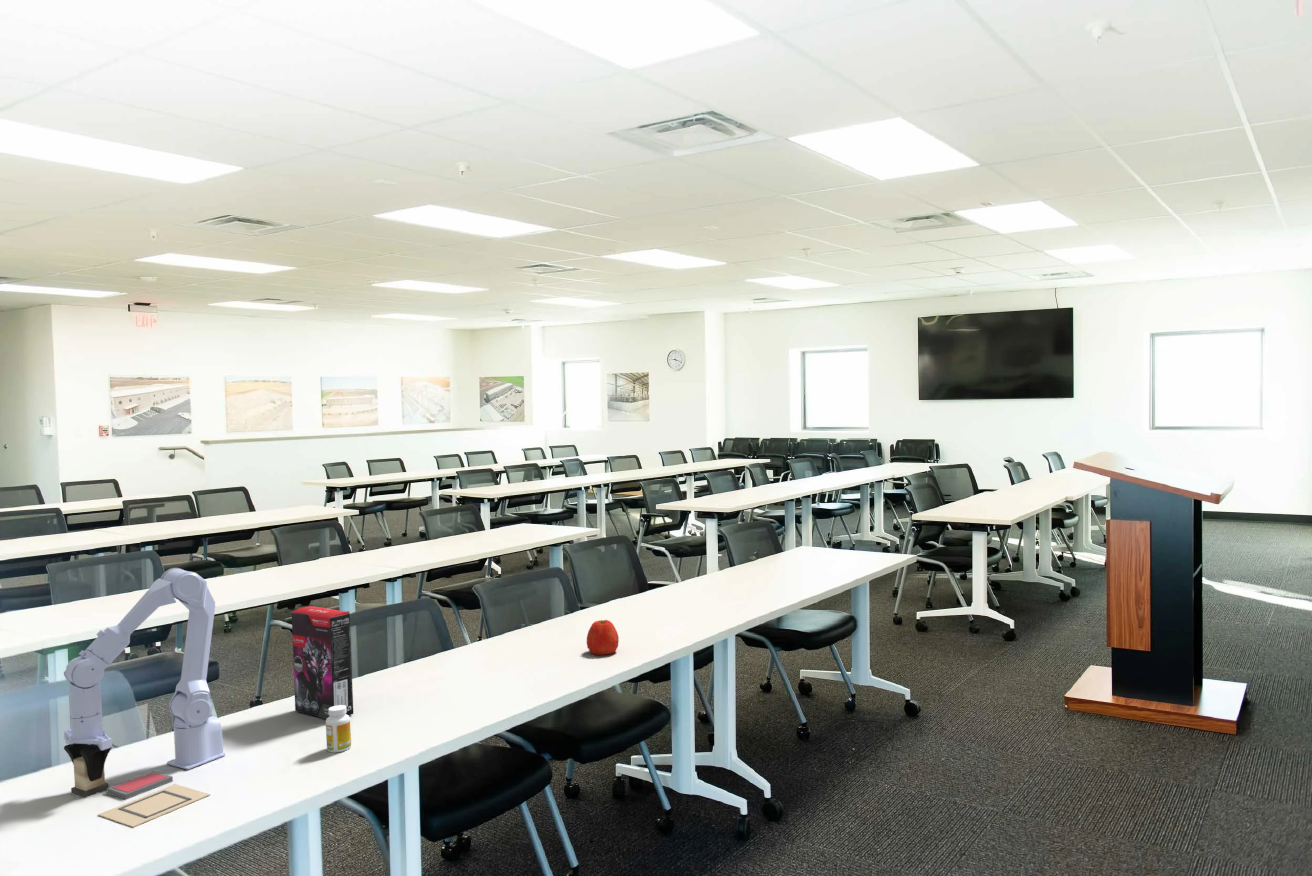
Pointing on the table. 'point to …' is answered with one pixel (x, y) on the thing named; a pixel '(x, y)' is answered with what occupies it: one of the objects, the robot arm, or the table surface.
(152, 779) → the ink pad
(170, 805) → the cardboard sheet
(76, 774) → the stamp
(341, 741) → the supplement bottle
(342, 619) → the graphics card box
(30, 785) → the table surface
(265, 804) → the table surface
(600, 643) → the apple
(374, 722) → the table surface
